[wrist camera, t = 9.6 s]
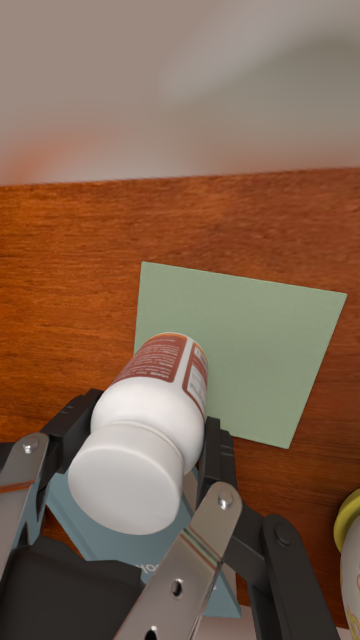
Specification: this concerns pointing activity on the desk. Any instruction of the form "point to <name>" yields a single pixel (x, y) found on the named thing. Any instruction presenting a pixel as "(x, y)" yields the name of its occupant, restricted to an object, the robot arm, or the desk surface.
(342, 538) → the flowerpot
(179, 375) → the pill bottle
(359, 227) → the desk surface
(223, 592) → the book
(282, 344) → the mat
